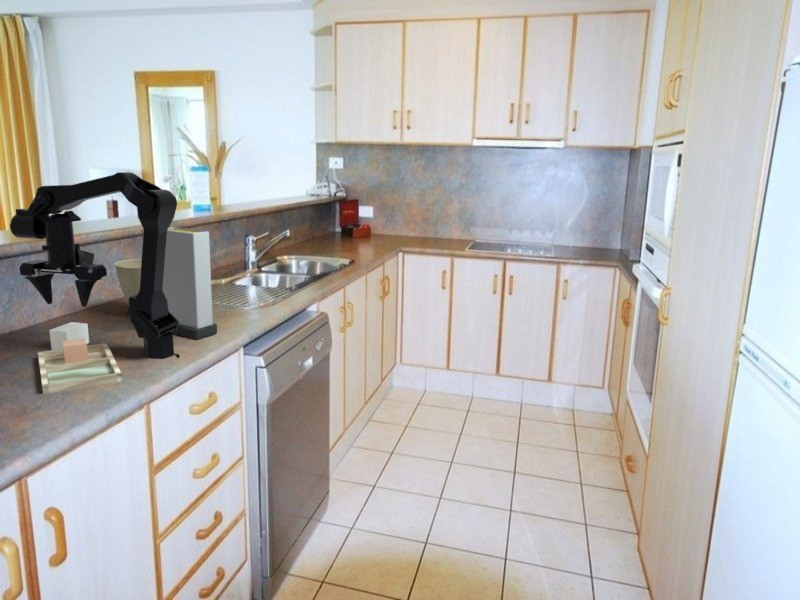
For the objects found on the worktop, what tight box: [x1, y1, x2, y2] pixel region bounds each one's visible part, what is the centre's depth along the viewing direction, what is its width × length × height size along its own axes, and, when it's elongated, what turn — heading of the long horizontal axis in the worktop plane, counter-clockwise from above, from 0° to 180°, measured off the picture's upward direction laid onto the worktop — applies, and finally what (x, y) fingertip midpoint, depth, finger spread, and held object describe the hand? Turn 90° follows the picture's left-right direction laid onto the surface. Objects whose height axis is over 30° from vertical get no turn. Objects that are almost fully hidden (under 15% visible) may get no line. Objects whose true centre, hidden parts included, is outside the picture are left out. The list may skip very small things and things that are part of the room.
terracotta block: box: [62, 338, 88, 364], centre depth 125 cm, size 4×4×4 cm
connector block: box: [49, 321, 90, 350], centre depth 135 cm, size 4×7×6 cm, turn 171°
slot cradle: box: [37, 342, 123, 395], centre depth 121 cm, size 23×14×2 cm, turn 34°
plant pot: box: [114, 258, 142, 307], centre depth 166 cm, size 15×15×16 cm
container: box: [163, 226, 218, 340], centre depth 150 cm, size 7×18×30 cm, turn 62°
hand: (67, 305), depth 133 cm, fingers open, 9 cm apart
